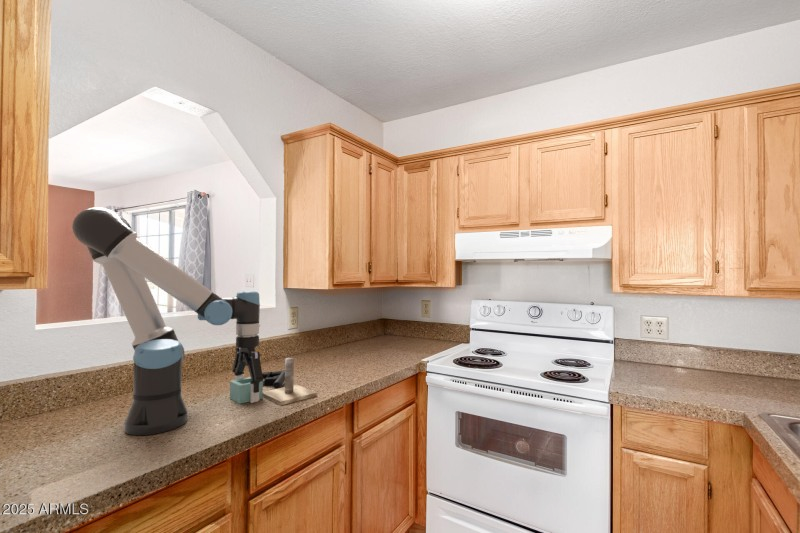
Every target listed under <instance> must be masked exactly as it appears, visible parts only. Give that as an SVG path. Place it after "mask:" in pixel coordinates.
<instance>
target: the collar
mask: <svg viewBox="0 0 800 533" xmlns="http://www.w3.org/2000/svg"><path fill="white" fill-rule="evenodd" d="M251 381H252V380H251V376H249V377H244V378H243V379H238V380H235V379H233V380H230V381H229V399H230V400H232V401H234V402H235V403H237V404H239V405H241V404H245V403H249V402H250V396H251V384H250V382H251ZM263 388H264V385H263V381H261V382H259V400H261V399H263V396H262V394H263V392H264V390H263Z"/></svg>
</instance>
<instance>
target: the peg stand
mask: <svg viewBox="0 0 800 533" xmlns="http://www.w3.org/2000/svg"><path fill="white" fill-rule="evenodd" d="M284 361H285V362H284V370H285V383H284V386H283V387H280V388H278V389H275V388H274V389H271V390H266V391H263V394H262V398H264V399H266V400H269V401H271V402H273V403H275V404H277V405H279V406H284V405H288V404H291V403H295V402H298V401H302V400H306V399H309V398H314V397H317V396H318V392H316V391H314V390H312V389H308V388H307V387H304V386H301V385H298V384H295V383H294V379H295V377H294V376H295V374H294V373H295V372H294V371H295V370H294V369H295V358H294V357H286V358H284Z"/></svg>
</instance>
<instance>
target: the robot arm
mask: <svg viewBox="0 0 800 533" xmlns="http://www.w3.org/2000/svg"><path fill="white" fill-rule="evenodd" d="M71 226H72V228H71V229H72V233H73V235H74V237H75V239H77V240H78V241H79V242H80V243H81V244H83V245H84V246H86V247H87V249H88V252H89V254H90V256H91V259H92V261H93V262H94V263H97V264H100V265H101V266H102V267H103V270H104V271H105V274H106V276H107V278H108V281H109V283H110V285H111V287H112V289H113V291H114V294H115V296H116V299H117V300H118V303H119V304H120V307H121V308H122V312H123V314H124V316H125V319H126V320H127V322H128V325H129V326H130V329H131V332H132V333H133V335H134V339H133V341H132V343H131V345H132V348H133V350H134V354H133V357H132V359H133V384H132V385H133V390H132V393H133V394H132V402H131V405H130V407H129V410H128V412H127V416H126V418H125V420H124V433H126V434H127V435H131V436H148V435H157V434H161V433H166V432H169V431H173V430H174V429H178V428H179V427H182V426H183V425H184V424H186V423H187V422H188V410H187V407H186V404H185V401H184V398H183V395H182V379H183V378H182V376H183V375H182V373H183V372H182V371H183V362H184V360H185V348H184V346H183V344H182V343H181V342H180V340H179V339H178V336H177V334H176V332H175V330H174V328H173V327H171V326H168V325H166V324H165V320H164V319H163V316H162V314H161V312H160V310H159V307H158V305H157V302H156V300H155V298H154V296H153V294H152V291H151V289H150V286H149V284H148V281H149V282H151V283H152V284H153V285H154V286H157V287H158V288H160V289H161V290H162V291H164V292H165V293H167V294H168V295H169V296H172V298H174V299H176V300H177V301H178V302H180V303H182V304H183V305H184V306H186V307H187V308H189V309H191V310H192V311H193V312H195V313H196V314H197V319H198V320H199V321H206V322H207V323H209V324H211V325H212V326H223V325H225V324H226V323H228V322H229V321H230V320H236V321H235V322H236V324H235V335H236V337H235V355H234V361H233V366H232V373H234V376H235V377H234V378H235V379H234V380H238V379H243V378H245V375H244V374H245V372H244V371H245V369H246V368H245V367H246V366H247V369H248V372H249V377H251V380H252V381H251V382H250V384H251V396H250V401H249V402H250V403H251V404H252V403H257V402H259V401H260V399H259V382H261V381H263V380H264V378H263V375H262V373H263V369H262V364H261V363H262V362H261V353H260V351H256V348H257V347H259V345H260V335H259V334H260V327H261V325H260V312H261V311H260V306H261V304H260V293H259V292H258V291H254V290H253V291H252V290H251V291H249V290H247V291H237V292H236V295H235V296H234V297H220V296H218V295H217V294H216V293H214V292H213V291H212V290H210V289H209V288H207V286H205V285H204V284H202V283H201V282H199V281H198V280H197V279H195V278H193V276H191V275H189V274H188V273H187V272H185V271H184V270H182V268H180V267H179V266H177V265H175V263H173V262H172V261H170V260H168V259H167V258H165V257H164V256H163V255H162V254H160V253H158V251H156V250H154V249H153V248H152V247H151V246H149V245H148V244H146V243H145V242H144V241H143V240H141V239H139V237H138V234H137V232H136V231H134V230H133V229H132V228H133V227H132V226H131V225H130V223H129V222H128V221H127V220H126V219H125V218H124V217H123V216H120V215H119V214H117V213H116V212H114V211H112V210H111V209H108V208H104V207H90V208H86V209H83V210H81V211H80V212H79V213H78V214H77V215H76V216H75V217H74V219H73V221H72V224H71Z"/></svg>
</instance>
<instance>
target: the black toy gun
mask: <svg viewBox="0 0 800 533" xmlns="http://www.w3.org/2000/svg"><path fill="white" fill-rule="evenodd" d="M262 375H263V386H265V387H266V386H267V387H269V386H271V387H272V386H273V388H274V389H278V388H282V386H283V385H284V386H285V369H283V370H274V371H264V372H263V371H262Z"/></svg>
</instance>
